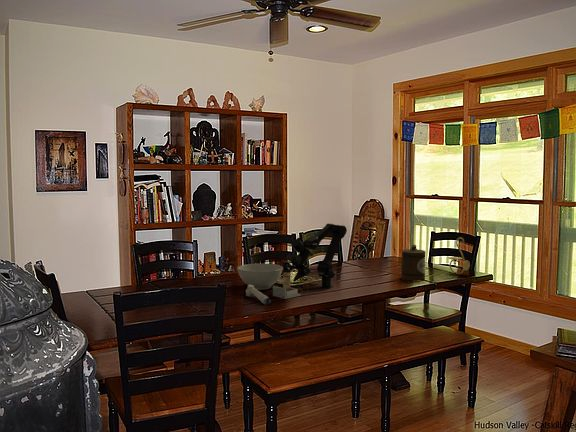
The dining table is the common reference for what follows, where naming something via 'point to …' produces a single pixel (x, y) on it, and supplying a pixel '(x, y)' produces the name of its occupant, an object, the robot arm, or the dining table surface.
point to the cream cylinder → (286, 281)
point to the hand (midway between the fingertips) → (288, 279)
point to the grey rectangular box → (285, 292)
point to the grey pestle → (257, 294)
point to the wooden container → (413, 264)
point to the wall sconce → (465, 263)
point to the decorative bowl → (260, 274)
